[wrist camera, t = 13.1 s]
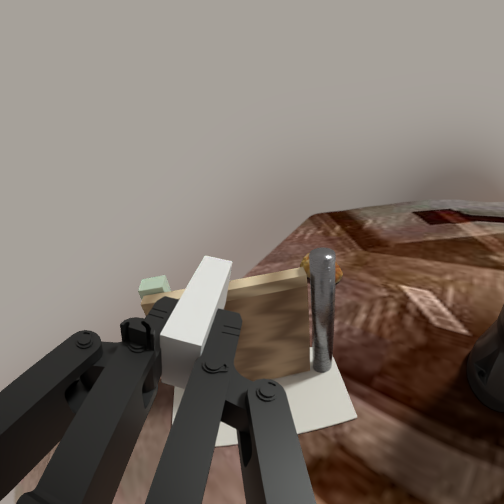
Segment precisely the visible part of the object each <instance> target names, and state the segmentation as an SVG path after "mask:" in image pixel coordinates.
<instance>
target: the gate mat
mask: <svg viewBox="0 0 504 504" xmlns="http://www.w3.org/2000/svg"><path fill="white" fill-rule="evenodd" d="M271 380H273V381H276V382H278V383H279V384H280V385H281V386H282V387H283V388H284V390H285V392H286V395H287V399H288V402H289V406H290V410H291V413H292V417H293V421H294V424H295V428H296V432H297V434H301V433H306V432H310V431H314V430H318V429H322V428H326V427H329V426H333V425H336V424H340V423H343V422H347V421H350V420H353V419H356V418H357V415H356V412H355V410H354V407H353V405H352V402H351V400H350V397H349V395H348V392H347V390H346V387H345V385H344V382H343V380H342V377H341V375H340V372H339V370H338V368H337V365H336V363H335V360H334V358H333V356H332V367H331V369H330V370H329V371H327V372H325V373H319V372H316V371H315V370H314V369H313V354H312V347H310V371H307V372H302V373H298V374H293V375H288V376H284V377H279V378H274V379H271ZM184 391H185V389H183V388H179V387H176V386H175V389H174V402H173V418H172V424H173V421H174V419H175V416H176V413H177V410H178V407H179V405H180V402H181V399H182V396H183V394H184ZM231 445H238V440H237V432H236V429H235V428H233V427H231V426H229V425H227V424H225V423H223V422H220V426H219V430H218V435H217V439H216V444H215V447H221V446H231Z"/></svg>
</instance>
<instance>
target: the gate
mask: <svg viewBox="0 0 504 504" xmlns="http://www.w3.org/2000/svg"><path fill="white" fill-rule="evenodd" d="M184 291H185V289H181V290H176V291H170V292H164V293H158V294H152V295H146V296H143V299H142V302H141V306H142V308H143V310H144V313H145V315H146V316H147V315H148V313H149V311H150V310H151V309H152V307H153V305H154V304H155V302H156V301H157V300H159V299H161V298H162V297H164V296H167V297H171V298H174V299H178V300H180V298H181V296H182V294H183V293H184ZM224 310H228V311H232V312H237V313H240V316H241V318H242V326H241V331H240V335H239V340H238V345H237V349H236V354H235V358H234V366H235V368H236V370H237V372H238V373H239V374H241V375H242V376H243V377H245V378H247V379H249V380H251V381H255V380H257V379H274V378H279V377H284V376H288V375H293V374H298V373H302V372H307V371H310V338H309V310H308V289H307V275H306V272H305V270H304V268H303V267H300V268H295V269H290V270H285V271H280V272H275V273H269V274H264V275H259V276H254V277H248V278H243V279H238V280H232V281H229V286H228V292H227V298H226V304H225V307H224Z"/></svg>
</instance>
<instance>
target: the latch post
mask: <svg viewBox="0 0 504 504" xmlns="http://www.w3.org/2000/svg"><path fill="white" fill-rule="evenodd" d="M170 291H171V290H170V287H169V284H168V282H167V279H166V276H165V275H164V276H158V277H153V278H148V279H143V280H142V282H141V284H140V287H139V290H138V292H139V294H140V297H141V299H143V296H146V295H152V294H158V293H164V292H170Z"/></svg>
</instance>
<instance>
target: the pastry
mask: <svg viewBox="0 0 504 504" xmlns="http://www.w3.org/2000/svg"><path fill="white" fill-rule="evenodd" d="M300 267H303V268H304V270H305V272H306V275H307V277H308V278H310V265H309V253H308V254H307V255H306V256H305V257H304V258H303V260H302V262H301V264H300ZM342 275H343V272H342V271H341V269H340V266H338V265H337V263H336V261H335V284H336V283H337V282H339V281H340V280H341V278H342Z"/></svg>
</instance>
